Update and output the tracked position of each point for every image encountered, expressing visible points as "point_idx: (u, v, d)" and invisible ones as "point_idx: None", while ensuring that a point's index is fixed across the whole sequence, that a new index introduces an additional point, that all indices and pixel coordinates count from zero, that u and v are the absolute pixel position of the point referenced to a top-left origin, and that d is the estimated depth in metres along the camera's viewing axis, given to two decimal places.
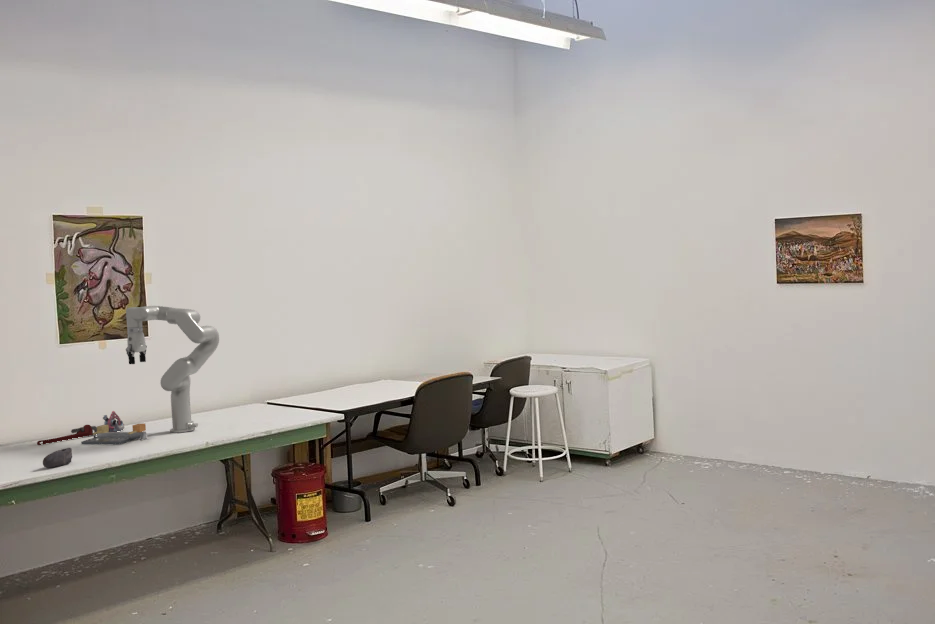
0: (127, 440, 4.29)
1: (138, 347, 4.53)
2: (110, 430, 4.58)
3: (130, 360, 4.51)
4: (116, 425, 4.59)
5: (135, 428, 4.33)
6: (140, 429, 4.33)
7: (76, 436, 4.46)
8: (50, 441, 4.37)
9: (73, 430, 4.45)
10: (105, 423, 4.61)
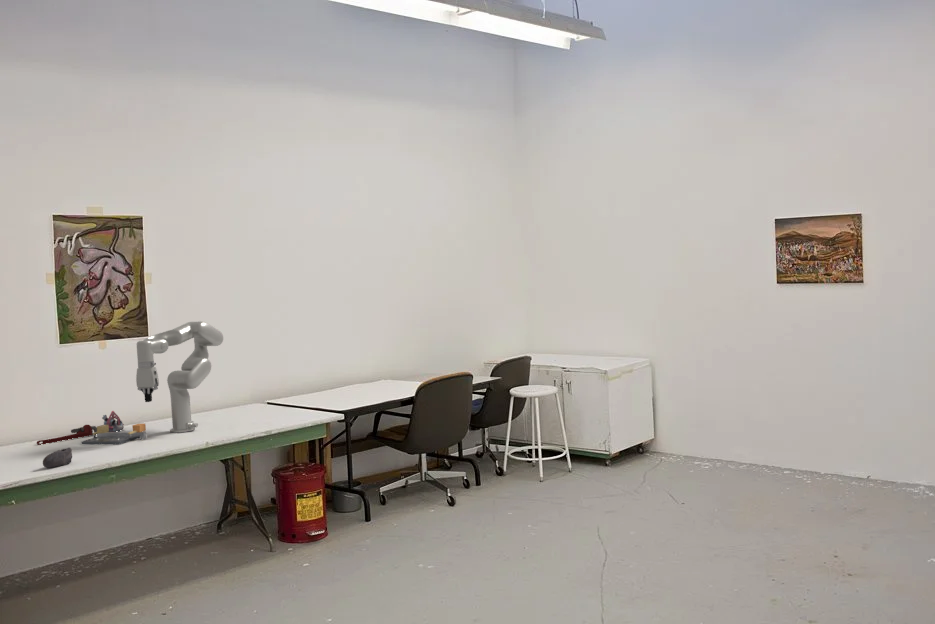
0: (127, 440, 4.29)
1: None
2: (109, 430, 4.59)
3: (150, 397, 4.32)
4: (115, 425, 4.60)
5: (135, 428, 4.33)
6: (140, 429, 4.33)
7: (76, 436, 4.46)
8: (50, 441, 4.37)
9: (73, 430, 4.45)
10: (104, 423, 4.61)
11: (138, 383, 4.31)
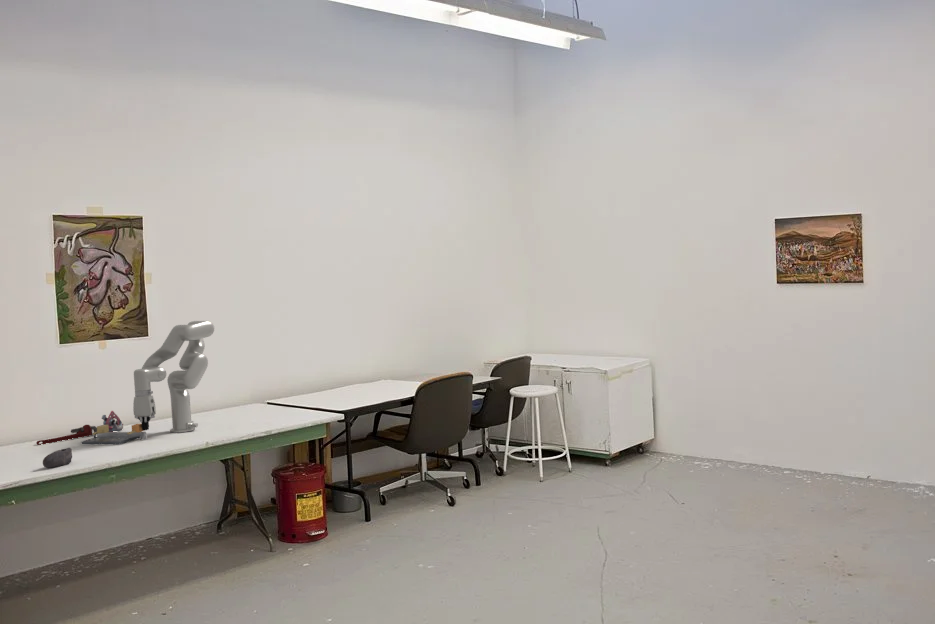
0: (127, 440, 4.29)
1: None
2: None
3: (147, 425, 4.33)
4: (114, 425, 4.60)
5: (134, 428, 4.33)
6: (139, 429, 4.33)
7: (76, 436, 4.46)
8: (50, 441, 4.37)
9: (73, 430, 4.45)
10: (104, 423, 4.62)
11: (135, 411, 4.32)
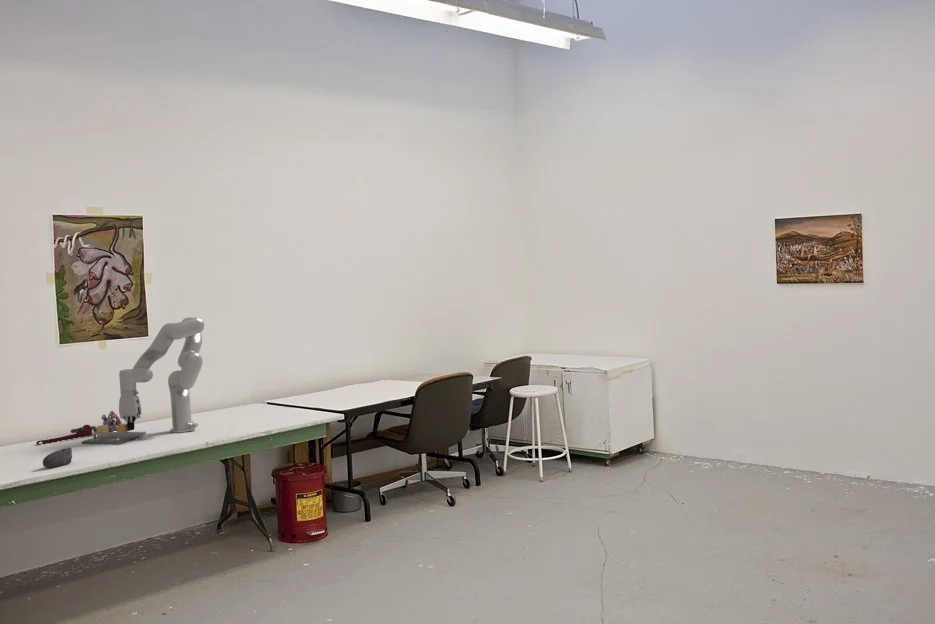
0: (127, 440, 4.29)
1: None
2: None
3: (133, 426, 4.35)
4: (114, 425, 4.60)
5: (120, 428, 4.35)
6: (125, 429, 4.35)
7: (75, 436, 4.46)
8: (49, 441, 4.37)
9: (72, 430, 4.45)
10: (104, 423, 4.62)
11: (121, 412, 4.34)
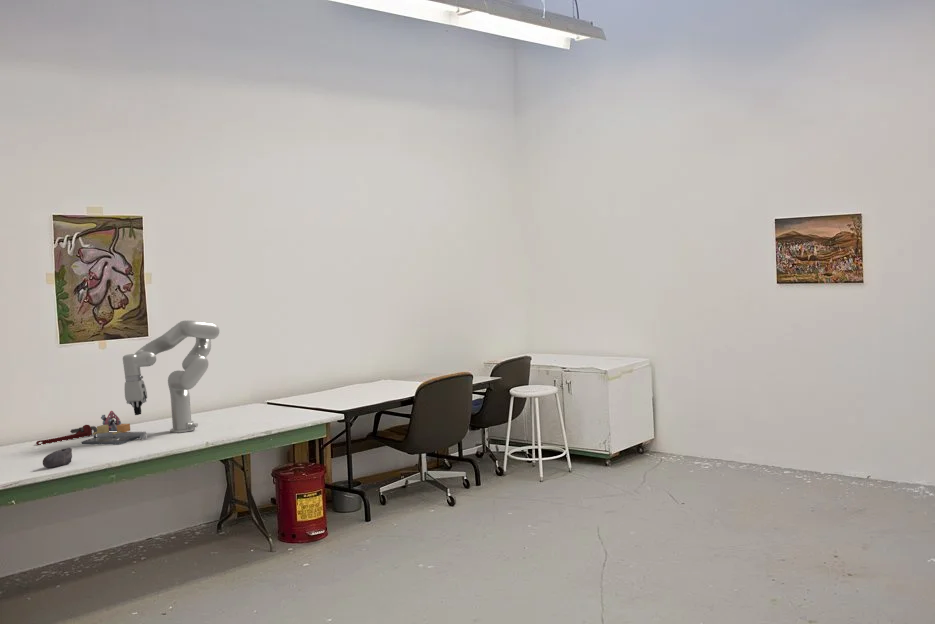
0: (127, 440, 4.29)
1: None
2: None
3: (140, 410, 4.35)
4: (113, 425, 4.60)
5: (119, 428, 4.35)
6: (124, 429, 4.35)
7: (75, 436, 4.46)
8: (49, 441, 4.37)
9: (72, 430, 4.45)
10: (103, 423, 4.63)
11: (127, 397, 4.34)
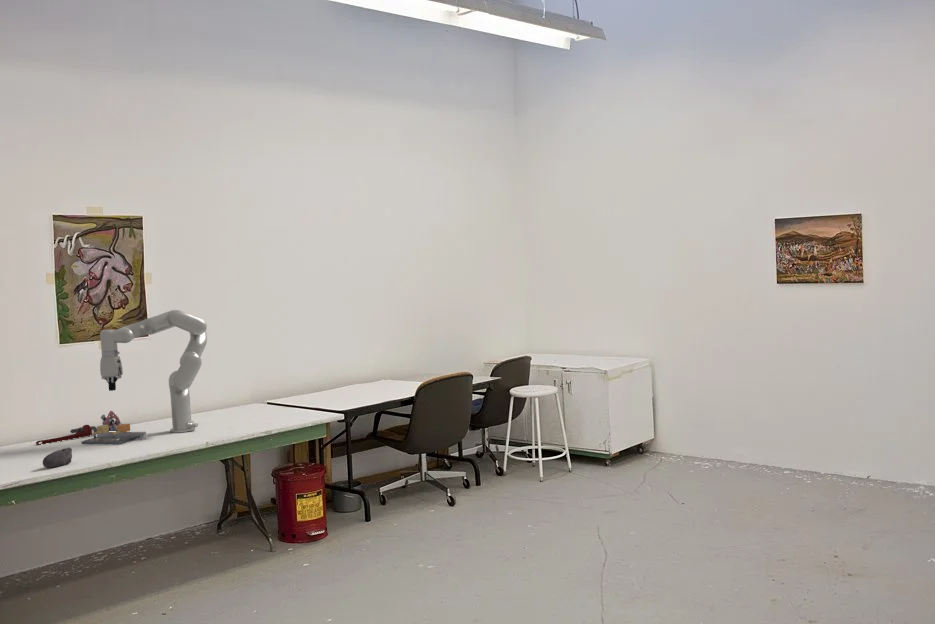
0: (127, 440, 4.29)
1: None
2: None
3: (114, 386, 4.35)
4: (113, 425, 4.60)
5: (119, 428, 4.35)
6: (124, 429, 4.35)
7: (75, 436, 4.46)
8: (49, 441, 4.37)
9: (72, 430, 4.45)
10: (103, 423, 4.63)
11: (102, 372, 4.34)
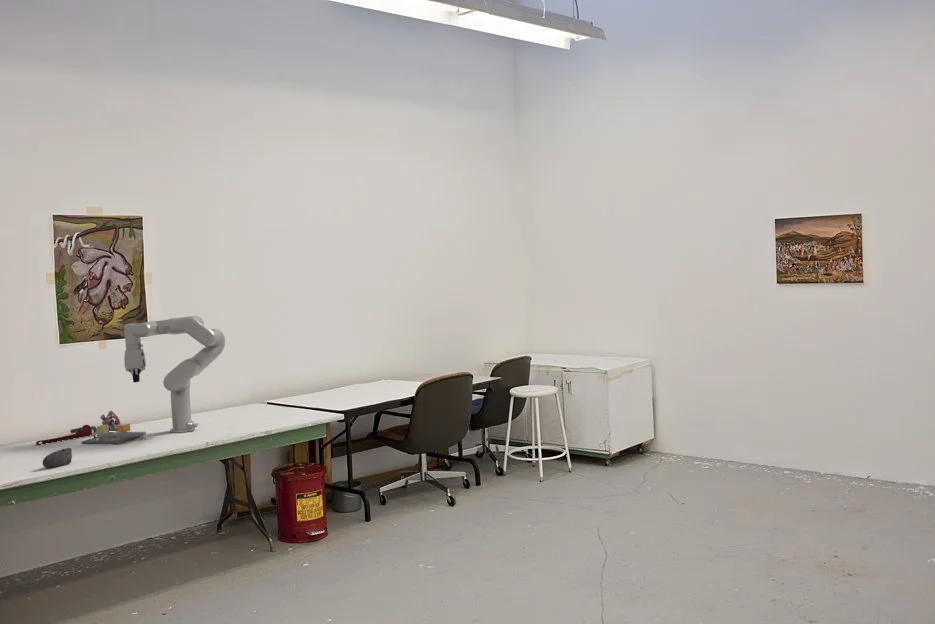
0: (127, 440, 4.29)
1: None
2: None
3: (138, 378, 4.52)
4: (112, 425, 4.61)
5: (119, 428, 4.35)
6: (124, 429, 4.35)
7: (75, 436, 4.46)
8: (49, 441, 4.37)
9: (72, 430, 4.45)
10: (103, 422, 4.63)
11: (126, 364, 4.50)
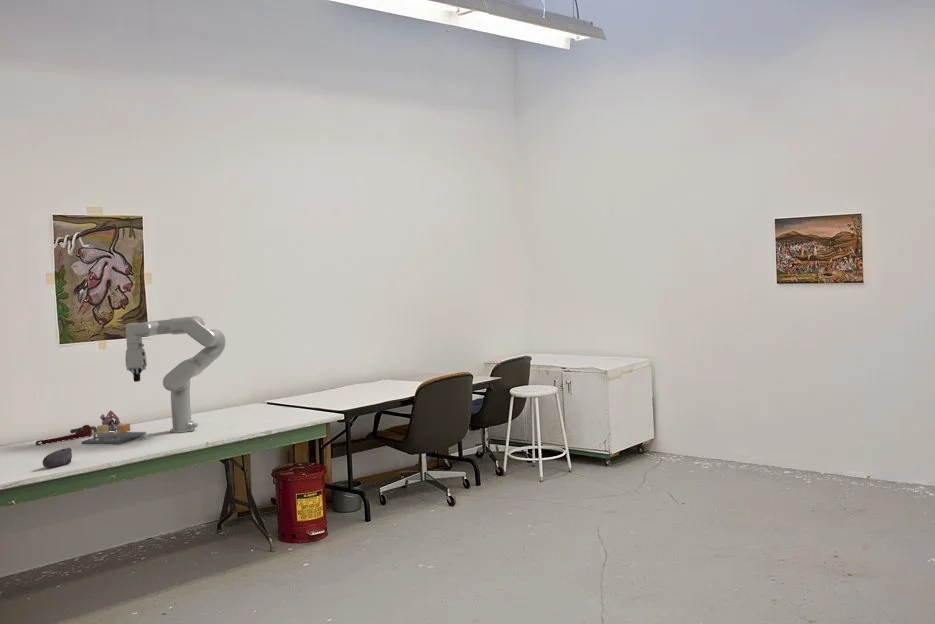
0: (127, 440, 4.29)
1: None
2: None
3: (139, 377, 4.52)
4: (112, 425, 4.61)
5: (119, 428, 4.35)
6: (124, 429, 4.35)
7: (75, 436, 4.46)
8: (49, 441, 4.37)
9: (72, 430, 4.45)
10: (102, 422, 4.64)
11: (127, 363, 4.51)
